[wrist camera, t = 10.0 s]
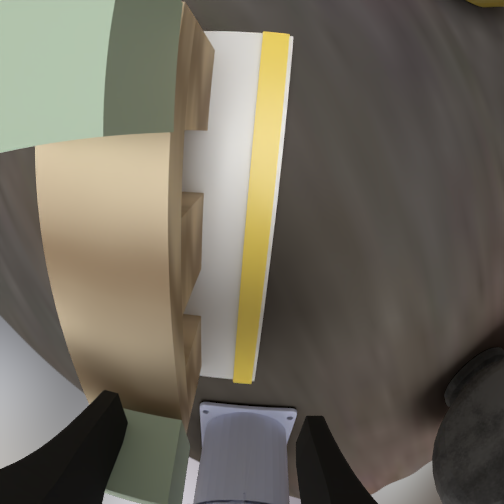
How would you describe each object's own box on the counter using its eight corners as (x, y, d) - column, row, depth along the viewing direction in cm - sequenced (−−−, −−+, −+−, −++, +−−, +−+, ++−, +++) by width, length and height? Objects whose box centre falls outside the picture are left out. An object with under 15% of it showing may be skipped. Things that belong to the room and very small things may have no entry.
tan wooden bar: (201, 366, 18) (184, 441, 13) (129, 354, 18) (97, 421, 13) (214, 50, 12) (185, 1, 6) (117, 56, 12) (46, 29, 6)
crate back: (190, 446, 13) (180, 512, 10) (120, 431, 13) (105, 493, 10) (181, 420, 11) (167, 505, 8) (96, 401, 11) (73, 477, 8)
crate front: (173, 132, 8) (103, 136, 4) (58, 142, 8) (-36, 162, 4) (183, 3, 6) (131, -67, 2) (66, 27, 6) (-17, 0, 2)
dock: (255, 361, 21) (254, 384, 19) (99, 338, 21) (87, 357, 18) (289, 47, 13) (294, 34, 11) (84, 54, 13) (64, 48, 11)
